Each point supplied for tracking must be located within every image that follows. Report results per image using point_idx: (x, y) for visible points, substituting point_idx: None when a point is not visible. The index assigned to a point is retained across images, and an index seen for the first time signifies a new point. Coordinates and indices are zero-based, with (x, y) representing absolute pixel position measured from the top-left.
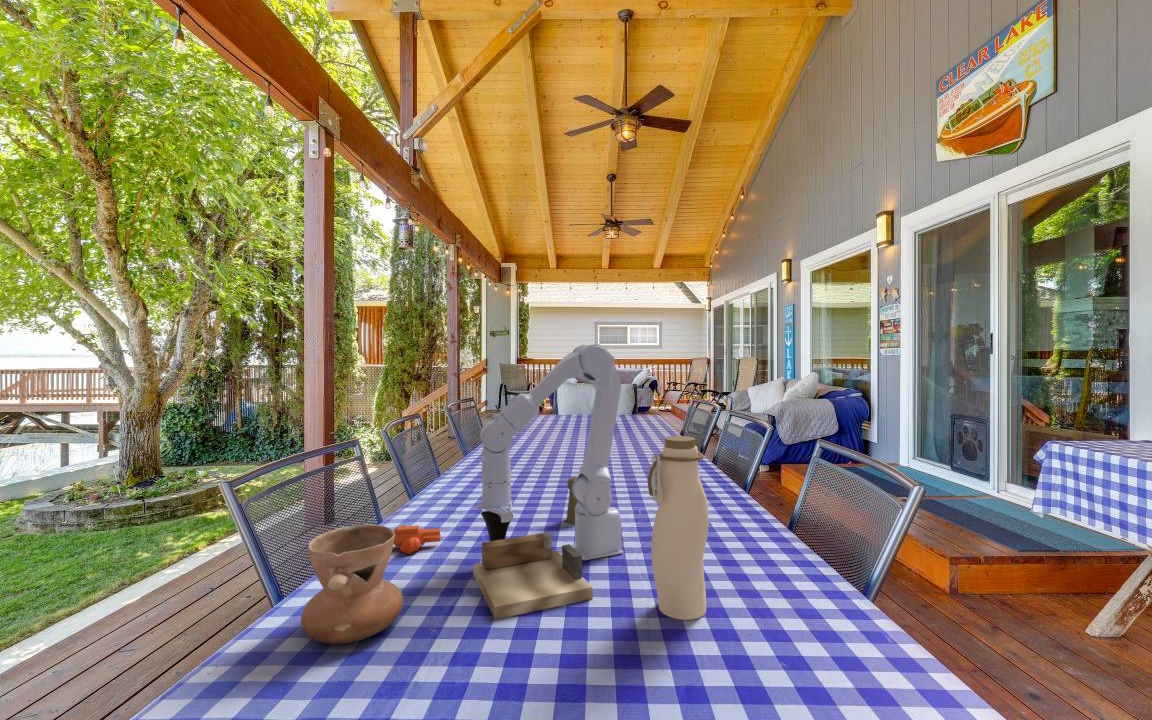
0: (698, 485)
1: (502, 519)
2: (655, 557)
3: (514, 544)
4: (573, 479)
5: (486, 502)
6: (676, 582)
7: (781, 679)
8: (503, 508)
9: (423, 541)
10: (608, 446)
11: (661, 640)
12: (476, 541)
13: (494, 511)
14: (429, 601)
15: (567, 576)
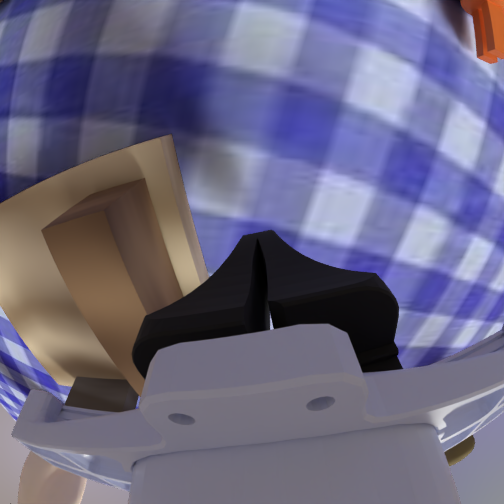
0: None
1: (25, 404)
2: (29, 453)
3: (103, 343)
4: (457, 459)
5: (150, 498)
6: None
7: (9, 402)
8: (91, 474)
9: (470, 7)
10: None
11: (13, 379)
12: (466, 173)
13: (59, 431)
14: (36, 43)
15: (86, 372)
